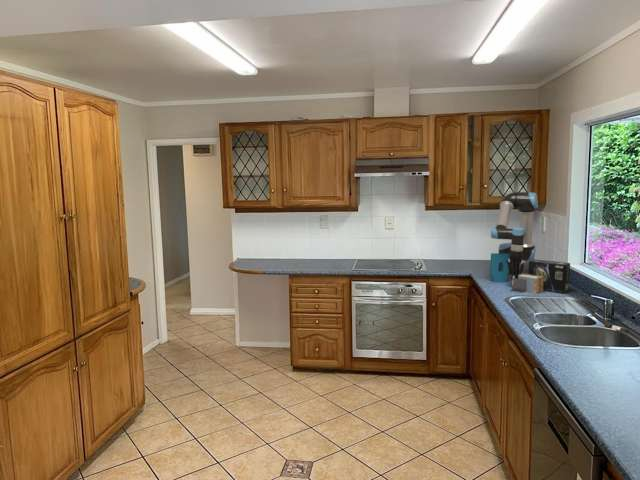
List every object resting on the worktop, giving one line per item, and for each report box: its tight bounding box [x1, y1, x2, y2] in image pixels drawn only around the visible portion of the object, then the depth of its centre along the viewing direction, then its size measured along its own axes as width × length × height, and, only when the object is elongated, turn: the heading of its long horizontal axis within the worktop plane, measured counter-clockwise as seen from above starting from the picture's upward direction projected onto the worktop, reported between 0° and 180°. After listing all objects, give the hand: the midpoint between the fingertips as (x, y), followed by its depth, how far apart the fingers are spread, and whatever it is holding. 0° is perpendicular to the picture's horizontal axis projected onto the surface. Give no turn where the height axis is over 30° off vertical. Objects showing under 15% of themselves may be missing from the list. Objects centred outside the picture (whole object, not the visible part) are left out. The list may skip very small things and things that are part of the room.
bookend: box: [509, 278, 526, 294], centre depth 301 cm, size 4×8×8 cm, turn 40°
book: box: [518, 273, 538, 294], centre depth 302 cm, size 5×12×10 cm, turn 41°
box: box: [527, 259, 571, 294], centre depth 304 cm, size 23×10×19 cm, turn 47°
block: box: [489, 252, 510, 283], centre depth 330 cm, size 12×5×20 cm, turn 90°
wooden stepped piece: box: [521, 272, 544, 295], centre depth 304 cm, size 10×19×10 cm, turn 40°
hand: (514, 285), depth 310 cm, fingers closed
